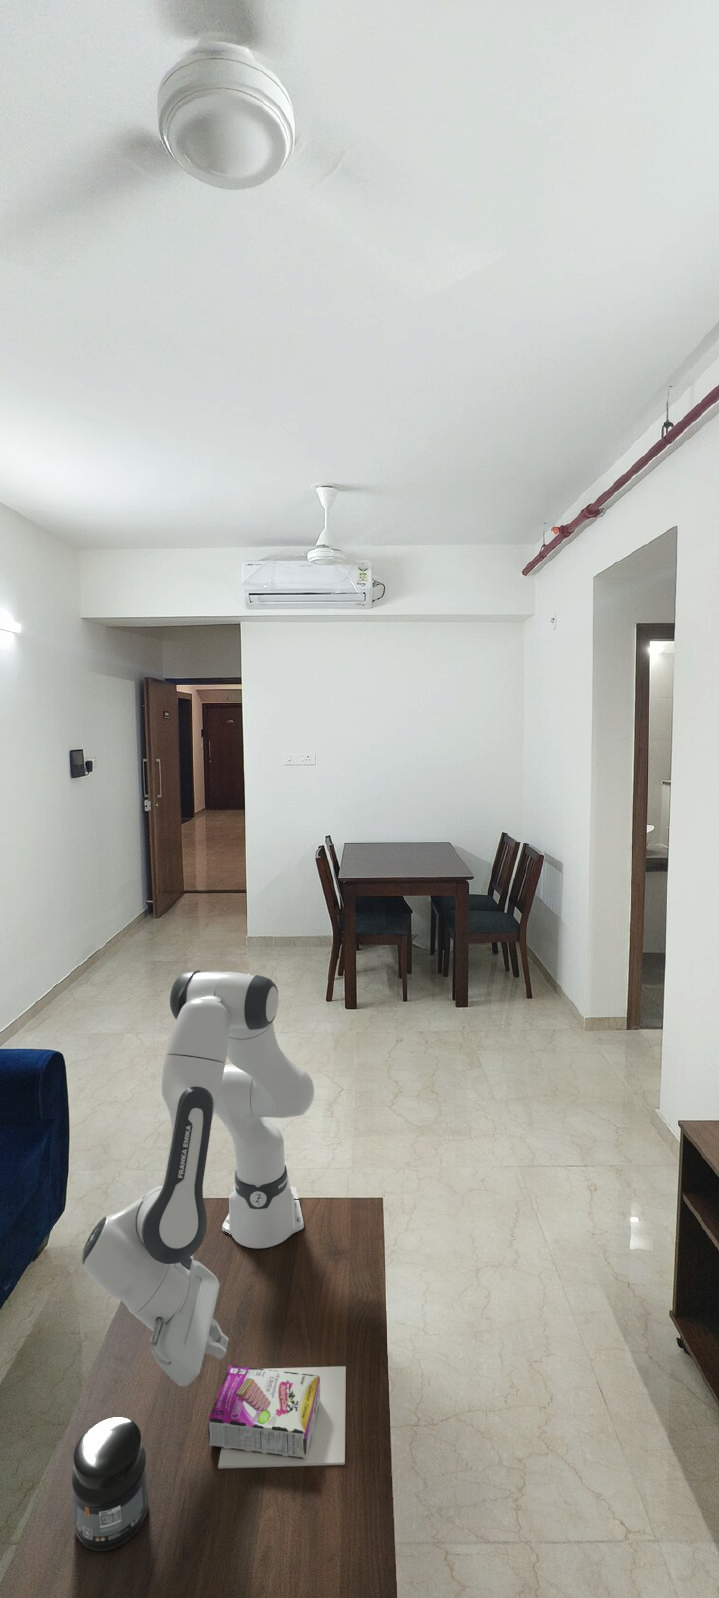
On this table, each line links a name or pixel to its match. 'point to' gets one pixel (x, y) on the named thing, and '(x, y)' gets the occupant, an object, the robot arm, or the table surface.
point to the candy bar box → (265, 1411)
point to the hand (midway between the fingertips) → (225, 1349)
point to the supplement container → (109, 1484)
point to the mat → (326, 1431)
